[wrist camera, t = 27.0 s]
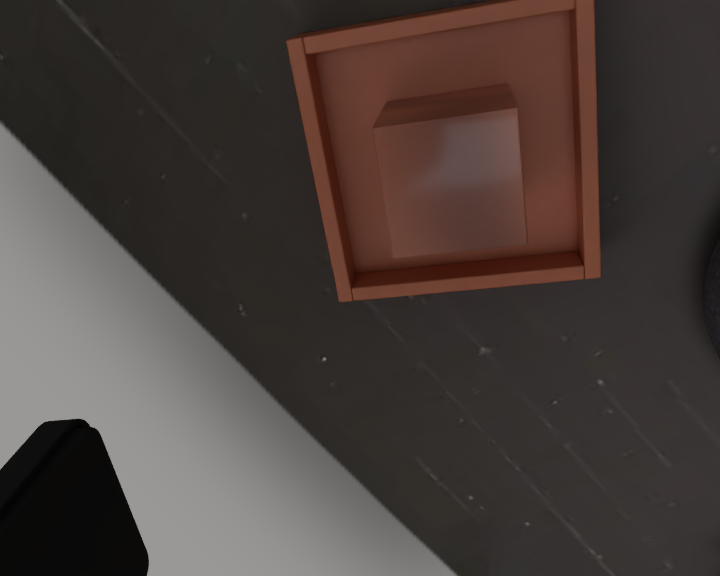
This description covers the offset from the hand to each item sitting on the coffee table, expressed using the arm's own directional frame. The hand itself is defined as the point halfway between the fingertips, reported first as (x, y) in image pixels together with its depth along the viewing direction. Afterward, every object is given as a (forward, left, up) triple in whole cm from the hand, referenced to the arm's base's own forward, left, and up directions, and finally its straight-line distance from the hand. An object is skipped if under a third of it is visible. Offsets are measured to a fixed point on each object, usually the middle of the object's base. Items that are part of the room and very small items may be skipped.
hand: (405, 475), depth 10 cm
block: (+1, 0, -18) cm, 18 cm away
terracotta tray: (0, 0, -18) cm, 18 cm away
